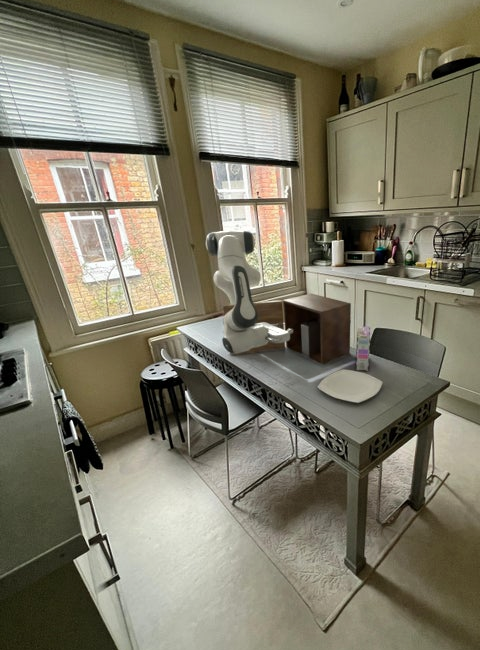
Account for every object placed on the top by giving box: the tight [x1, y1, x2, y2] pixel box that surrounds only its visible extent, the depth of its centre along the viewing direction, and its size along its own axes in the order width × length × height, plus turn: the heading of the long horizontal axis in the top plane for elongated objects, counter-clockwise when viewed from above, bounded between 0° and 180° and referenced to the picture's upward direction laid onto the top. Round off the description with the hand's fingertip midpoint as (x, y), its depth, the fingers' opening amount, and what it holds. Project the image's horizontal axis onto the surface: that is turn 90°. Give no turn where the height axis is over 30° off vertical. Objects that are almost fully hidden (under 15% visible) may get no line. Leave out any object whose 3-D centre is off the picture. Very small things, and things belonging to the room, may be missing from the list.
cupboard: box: [282, 293, 352, 365], centre depth 155 cm, size 18×28×26 cm, turn 38°
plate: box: [317, 368, 384, 404], centre depth 127 cm, size 23×23×2 cm
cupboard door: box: [222, 300, 286, 356], centre depth 161 cm, size 7×28×26 cm, turn 98°
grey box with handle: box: [301, 318, 321, 356], centre depth 155 cm, size 6×9×17 cm, turn 128°
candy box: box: [355, 325, 371, 372], centre depth 143 cm, size 14×6×16 cm, turn 168°
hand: (285, 327), depth 143 cm, fingers open, 8 cm apart
